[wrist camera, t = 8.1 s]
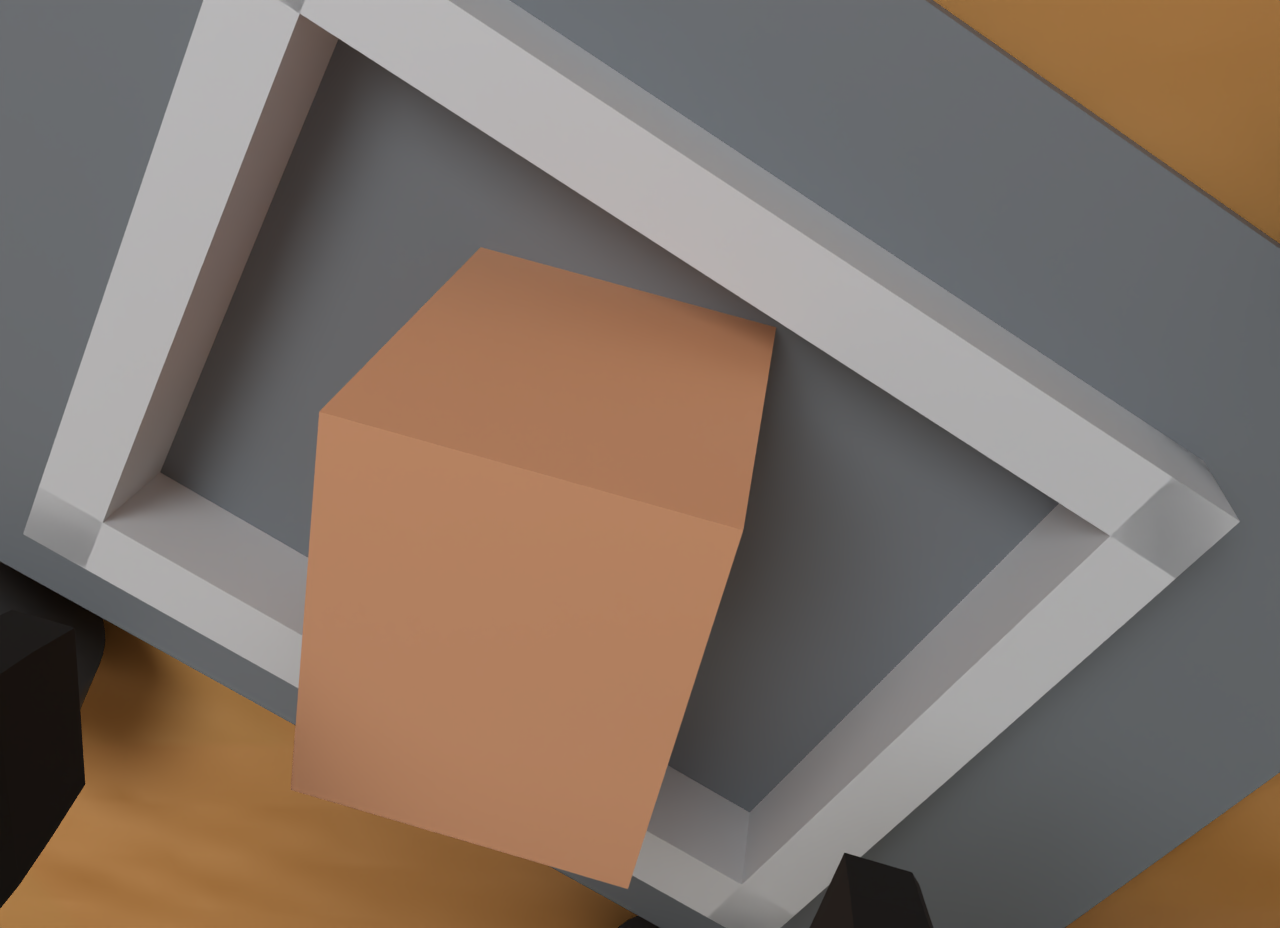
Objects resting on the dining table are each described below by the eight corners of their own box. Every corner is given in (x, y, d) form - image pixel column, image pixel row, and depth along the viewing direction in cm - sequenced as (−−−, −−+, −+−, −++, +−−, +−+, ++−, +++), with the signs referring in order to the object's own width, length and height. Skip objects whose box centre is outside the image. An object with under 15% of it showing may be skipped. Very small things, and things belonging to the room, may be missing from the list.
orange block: (775, 327, 14) (742, 529, 10) (685, 622, 17) (627, 889, 12) (480, 247, 14) (318, 411, 10) (435, 551, 17) (290, 789, 12)
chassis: (1795, 318, 13) (2142, 482, 9) (812, 1063, 23) (806, 1277, 19) (126, -927, 10) (-241, -1330, 7) (-173, 522, 20) (-388, 658, 17)
